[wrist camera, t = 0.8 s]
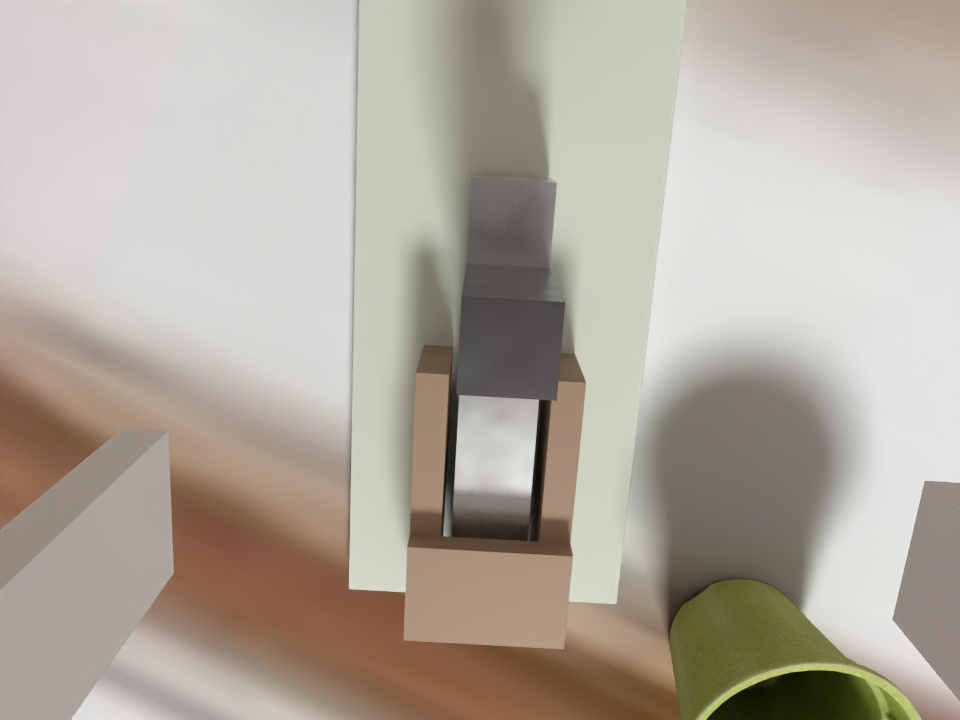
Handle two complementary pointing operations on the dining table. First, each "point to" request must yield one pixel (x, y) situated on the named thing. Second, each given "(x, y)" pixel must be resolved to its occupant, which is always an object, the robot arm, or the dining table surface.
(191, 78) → the dining table surface
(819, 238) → the dining table surface
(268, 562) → the dining table surface
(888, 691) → the plant pot
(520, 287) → the slide bar
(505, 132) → the board
